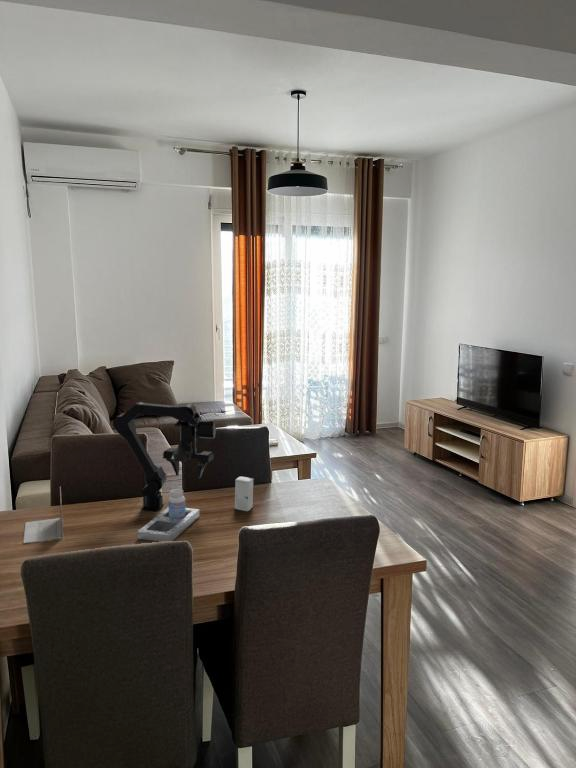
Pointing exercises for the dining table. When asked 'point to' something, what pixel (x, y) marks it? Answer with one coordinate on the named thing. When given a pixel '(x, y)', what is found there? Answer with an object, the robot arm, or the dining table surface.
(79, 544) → the dining table surface
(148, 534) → the white compartment tray
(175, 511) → the pill bottle
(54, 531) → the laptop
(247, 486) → the skincare box
